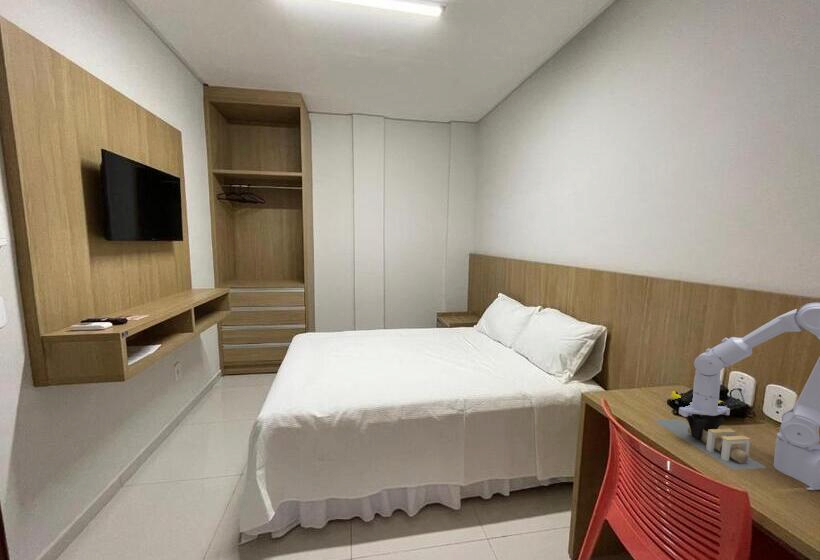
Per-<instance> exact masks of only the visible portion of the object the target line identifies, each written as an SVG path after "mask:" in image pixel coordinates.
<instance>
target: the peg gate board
mask: <svg viewBox="0 0 820 560" xmlns="http://www.w3.org/2000/svg"><path fill="white" fill-rule="evenodd" d="M652 421H653V422H654V423H656V424H658V425H659V426H661V427H663V428H664V429H666V431H667V430H668V432H671V433H672V434H674V435H676V436H677V437H679V438H681V439H682V440H684V441H685V442H687V443H688V444H691V445H692V446H694V447H695V448H697V449H699V450H700V451H702V452H704V453H705V454H707V455H709V456H710V457H712V458H714V459H715V460H717V461H719V462H720V463H722V464H723V465H725V466H726V467H728V468H729V469H730V470H733V471H737V470H753V469H756V470H757V469H768V467H767V466H765V465H764V464H762V463H760V462H758V461H756V460H754V459H752V457H750V455H749V454H750V446H751V438H749V437H748V436H745V435H735V434H736V433H737V431H735V430H734V429H732V428H717V429H708V436H707V444H706V443H705V442H703V441H701V440H697V439H695V438H694V437H692V435H691V434H689V433H688V427H689V423H688V422H686V421H684V420H682V419H677V418H676V419H657V420H656V419H655V420H652ZM715 436H716V437H718V436H719V437H720V436H721V438H720V439H722V440H723V442H722V452H720V451H718V450H717V449H715V448H714V444H715ZM731 444H732V445H733V446H734V445H736V444H737V445H740V450H742V451H744V452H746V453H747V454H748V460H747V461H746V462H745V463H739V462H737V461H735V460H734V459H732V458H730V457H729V455H730V445H731Z"/></svg>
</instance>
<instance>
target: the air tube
mask: <svg viewBox="0 0 820 560" xmlns="http://www.w3.org/2000/svg"><path fill="white" fill-rule="evenodd" d="M688 433H689V434H691V429H690V426H689V427H688ZM691 435H692V434H691ZM707 436H708V432H707V431H705V430H704V429H703V432H702V437H701V441H703V442H705V443H706V444H707ZM722 442H723V439H722V438H720V437H718V436H715V444H714V448H715V449H717V450H718V451H720V452H722ZM729 457H730V458H732V459H734V460H735V461H737V462H739V463H745V462H746V461H747V460H748V454H747V453H746V452H744V451H742V450H741V448H738V447H737V446H735V445H734V444H733V445H732V444H731V445H730V455H729Z"/></svg>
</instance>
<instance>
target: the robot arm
mask: <svg viewBox="0 0 820 560" xmlns="http://www.w3.org/2000/svg"><path fill="white" fill-rule="evenodd" d="M797 310H798V311H797ZM802 329H805V330H806V331H807V332H809V333H811V334H813V335H814V336H816V338H817V339H818V340H819V341H820V302H810V303H806V304H804V305H802V306H801V307H800V308H799V309H798V308H795V309H793V310H790V311H788V312H786V313H783V314H781V315H778V316H777V317H775V318H774V319H772V320H769V321H768V322H767V323H765V324H763V325H762V326H759V327H758V328H756V329H754V330H753V331H751V332H750V333H748V334H746V335H745V336H744V337H737V336H736V337H735V336H731V337H729V338H728V337H724V338H723V339H722V340H721V343H719V344H717V345H716V346H713V347H712V348H710V347H708V348H707V349H705V352H702V353H700V354H699V355H698V356H696V357H695V359H694V362H693V365H694V368H695V371H694V374H695V375H694V378H693V390H692V394H693V398H692V402H690V403H689V404H690V405H688V406H685V407H683V406H678V407H679V408H678V414H679V415H681V416H682V417H684V418H686V420H687V423H688V424H689V426H690V429H691V434H692V437H694V438H695V439H697V440H701V437H702V432H703V429H704V430H705V431H707V432H708V429H719V427H720V426H721V425H722V424H723V423H725V418H724V417H722V416H721V415H725V416H730V412H731V409H730V408H729V407H727V406H726V405H725V406H718V404H719V400H720V391H721V382H722V381H721V371H722V370H723V368H728V367H730V366H733V365H734V364H736V363H739V362H740V361H742V360H745V359H746V358H748V357H750V356H752V355H753V348H755V347H757V346H759V345H761V344H763V343H765V342H767V341H769V340H771V339H773V338H775V337H777V336H779V335H781V334H783V333H787V332H788V333H789V332H790V333H793V332H794V333H796V332H802V331H803V330H802ZM819 431H820V356H819V357H818V359H817V361H816V363H815V365H814V367H813V369H812V370H811V373H810V375H809V377H808V378H807V381H806V382H805V385H804V387H803V388H802V390H801V393H800V394H799V397H798V399H797V400H796V402H795V403H794V404H793V406H792V407H791V409H789V410H787V411H785V412H784V413H783V414H782V417H781V424H780V426H779V431H778V432H777V433H776V440H775V449H774V458H773V467H774V468H775V469H776V470H777V471H778V472H780V473H782V474H784V475H786V476H787V477H791V478H793V479H794V480H797V481H798V482H801V483H803V484H805V485H806V486H803V487H802V488H804V489H806V490H807V491H817V490H820V443H819V442H820V432H819Z"/></svg>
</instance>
